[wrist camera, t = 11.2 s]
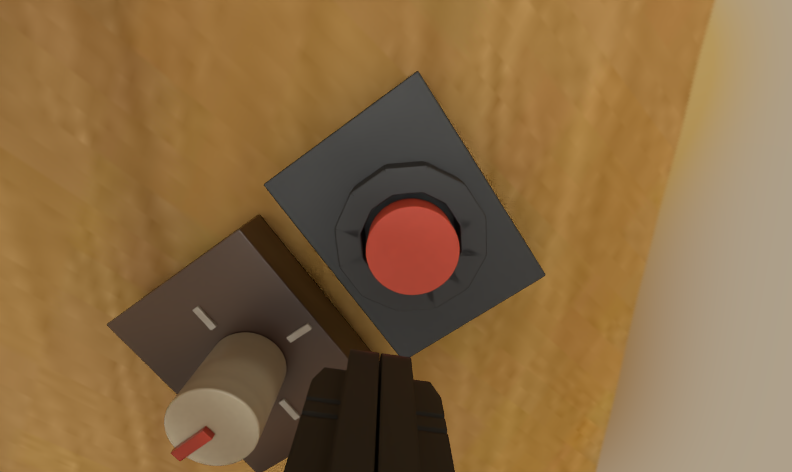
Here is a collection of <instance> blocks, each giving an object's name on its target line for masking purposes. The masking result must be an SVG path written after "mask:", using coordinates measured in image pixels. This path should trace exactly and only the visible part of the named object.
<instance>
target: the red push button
mask: <svg viewBox="0 0 792 472" xmlns="http://www.w3.org/2000/svg"><path fill="white" fill-rule="evenodd" d="M459 254H460V246H459V240H458V236H457V234H456V231H455V229H454V228H453V226H452V224H451V222H450V220H449V219H448V217H447V216H446V214H445V213H444V212H443V211H442V210H441V209H440V208H439V207H437V206H436V205H434V204H433V203H431V202H428V201H426V200H422V199H416V198H407V199H401V200H398V201H395V202H393V203H390V204H389V205H387V206H386V207H384V208H383V209H382V210H381V211H380V212H379V213H378V214H377V215H376V217H375V218H374V220H373V222H372V224H371V226H370V229H369V234H368V238H367V243H366V259H367V263H368V266H369V268H370V270H371V272H372V274H373V275H374V277H375V278H376V279H377V280H378V281H379V282H380V283H381V284H382V285H383V286H385V287H386V288H388V289H390V290H392V291H394V292H397V293H400V294H405V295H419V294H424V293H428V292H430V291H433V290H435V289H436V288H438V287H440V286H441V285H442V284H444V283H445V282H446V281H447V280H448V279H449V278H450V276H451V275H452V273H453V272H454V270H455V268H456V266H457V263H458V260H459Z"/></svg>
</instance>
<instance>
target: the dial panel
mask: <svg viewBox="0 0 792 472" xmlns="http://www.w3.org/2000/svg"><path fill="white" fill-rule="evenodd" d="M107 326H108V327H109V328H110V329H111V330H112V331H113V332H114V333H115V334H116V335H117V336H118V337H119V338H120V339H121V340H122V341H123V342H124V343H125V344H126V345H128V346H129V347H130V348H131V349H132V350H133V351H134V352H135V353H136V354H137V355H138V356H139V357H140V358H141V359H142V360H143V361H144V362H145V363H146V364H147V365H148V366H149V367H150V368H151V369H152V370H153V371H154V372H155V373H156V374H157V375H158V376H159V377H160V378H161V379H162V380H163V381H164V382H165V383H166V384H167V385H168V386H169V387H170V388H171V389H172V390H173V391H174V392H175V393H176V394H178V393H179V392H180V390H181V389H182V388H183V387H184V385H185V384H186V383H187V381H188V380H189V379H190V378H191V376H192V375H193V374H194V373H195V371H196V370H197V369H198V367H199V366H200V365H201V364H202V362H203V361H204V360H205V358H206V357H207V356H208V355H209V353H210V352H211V351H212V350H213V348H214V347H215V346H216V345H217V343H218V342H219V341H221V340H222V339H223V338H225V337H227V336H229V335H232V334H235V333H241V332H249V333H255V334H259V335H262V336H264V337H266V338H268V339H269V340H271V341H272V342H274V343H275V344H276V345H277V346H278V348H279V349H280V350H281V352H282V353H283V355H284V358H285V361H286V366H287V371H286V376H285V379H284V381H283V384H282V386H281V389H280V391H279V393H278V396H277V398H276V401H275V403H274V405H273V408H272V410H271V413H270V415H269V417H268V420H267V422H266V424H265V427H264V429H263V432H262V434H261V436H260V439H259V441H258V443H257V445H256V447H255V449H254V450H253V451H252V452H251V453H250V454H249V455H248V456H247V457H245V458H244V459H243V460H244V461H245V462H246V463H247V464H248V465H249V466H250V467H251V468H252V469H253V470H254V471H255V472H263V471H265V470H267V469H269V468H270V467H272V466H274V465H275V464H277V463H279V462H280V461H282V460H284V459H286V458H287V457H288V456H289V453H290V449H291V446H292V443H293V440H294V436H295V433H296V430H297V426H298V423H299V420H300V416H301V414H302V410H303V407H304V403H305V400H306V397H307V393H308V390H309V387H310V383H311V380H312V379H313V378H314V377H315V376H316V375H317V374H318V373H319V372H320V371H321V370H322V369H323V368H324V367H327V368H334V369H341V370H347V364H348V359H349V353H350V349H354V350H361V351H368V352H371V351H370V350H369V349H368V347H367V346H366V345H365V344H364V343H363V341H362V340H361V339H360V338H359V336H358V335H357V334H356V333H355V332H354V330H353V329H352V328H351V327H350V325H349V324H348V323H347V322H346V320H345V319H344V318H343V317H342V316H341V314H340V313H339V312H338V311H337V309H336V308H335V307H334V306H333V305H332V303H331V302H330V301H329V300H328V298H327V297H326V296H325V295H324V293H323V292H322V291H321V290H320V289H319V287H318V286H317V285H316V284H315V282H314V281H313V280H312V279H311V278H310V276H309V275H308V274H307V273H306V271H305V270H304V269H303V268H302V266H301V265H300V264H299V263H298V262H297V260H296V259H295V258H294V257H293V255H292V254H291V253H290V252H289V250H288V249H287V248H286V247H285V246H284V244H283V243H282V242H281V241H280V239H279V238H278V237H277V236H276V235H275V233H274V232H273V231H272V230H271V228H270V227H269V226H268V225H267V223H266V222H265V221H264V220H263V219H262V217H261V216H260V215H257V216H256V217H254V218H253V219H251V220H250V221H249V222H247V223H246V224H244V225H243V226H242V227H240V228H239V229H237V230H236V231H235V232H233V233H232V234H230V235H229V236H228V237H226V238H225V239H224V240H222V241H221V242H219V243H218V244H217V245H215V246H214V247H213V248H211V249H210V250H208V251H207V252H206V253H204V254H203V255H201V256H200V257H199V258H197V259H196V260H195V261H193V262H192V263H190V264H189V265H188V266H186V267H185V268H184V269H182V270H181V271H179V272H178V273H177V274H175V275H174V276H172V277H171V278H170V279H168V280H167V281H166V282H164V283H163V284H161V285H160V286H159V287H157V288H156V289H154V290H153V291H152V292H150V293H149V294H148V295H146V296H145V297H143V298H142V299H141V300H139V301H138V302H137V303H135V304H134V305H132V306H131V307H130V308H128V309H127V310H125V311H124V312H123V313H121V314H120V315H119V316H117V317H116V318H114V319H113V320H112V321H110V322H109V323H108V324H107Z"/></svg>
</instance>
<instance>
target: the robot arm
mask: <svg viewBox="0 0 792 472" xmlns="http://www.w3.org/2000/svg"><path fill="white" fill-rule="evenodd" d="M284 472H455V470H454V464H453V459H452V454H451V448H450V443H449V438H448V434H447V427H446V421H445V419H444V411H443V405H442V400H441V397H440V396H439V394H438V393H437V391H436V390H435V388H434V387H433V386H432V384H431V383H430V382H427V381H420V380H413V373H412V362H411V358H410V357H403V356H396V355H389V354H381V356H380V361H379V353H375V352H368V351H361V350H354V349H350V353H349V359H348V364H347V370H341V369H334V368H327V367H324V368H323V369H322V370H321V371H320V372H319V373H318V374H317V375H316V376H315V377H314V378H313V379H312V380H311V383H310V387H309V390H308V393H307V397H306V400H305V403H304V407H303V410H302V414H301V416H300V420H299V423H298V426H297V430H296V433H295V436H294V440H293V443H292V446H291V449H290V453H289V456H288V459H287V463H286V466H285V469H284Z"/></svg>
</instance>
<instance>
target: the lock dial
mask: <svg viewBox="0 0 792 472" xmlns="http://www.w3.org/2000/svg"><path fill="white" fill-rule="evenodd" d="M286 371H287V366H286V361H285V358H284V355H283V353H282V352H281V350H280V349H279V348H278V346H277V345H276V344H275V343H274V342H272V341H271V340H269V339H268V338H266V337H264V336H262V335H259V334H255V333H249V332H241V333H235V334H232V335H229V336H227V337H225V338H223V339H222V340H221V341H219V342H218V343H217V345H216V346H215V347H214V348H213V350H212V351H211V352H210V353H209V355H208V356H207V357H206V358H205V360H204V361H203V362H202V364H201V365H200V366H199V367H198V369H197V370H196V371H195V373H194V374H193V375H192V376H191V378H190V379H189V380H188V381H187V383H186V384H185V385H184V387H183V388H182V389H181V390H180V392H179V393H178V394H177V395H176V397H175V398H174V399H173V401H172V402H171V403H170V405H169V406H168V408H167V411H166V414H165V419H164V426H165V431H166V434H167V437H168V439H169V440H170V442H171V444H172V445H173V446H174V447H175V448H174V449H173V450H172V452H171V454H172V455H173V456H174V457H175V458H177V459H178V460H179V461H181V460H183V459H184V458H186V457H187V458H189V459H191V460H193V461H196V462H198V463H202V464H205V465H212V466H223V465H229V464H233V463H236V462H238V461H240V460H242V459H244V458H245V457H247V456H248V455H249V454H250V453H251V452H252V451H253V450H254V449H255V447H256V445H257V443H258V441H259V439H260V436H261V434H262V432H263V429H264V427H265V424H266V422H267V420H268V417H269V415H270V413H271V410H272V408H273V405H274V403H275V401H276V398H277V396H278V393H279V391H280V389H281V386H282V384H283V381H284V379H285V376H286Z"/></svg>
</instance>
